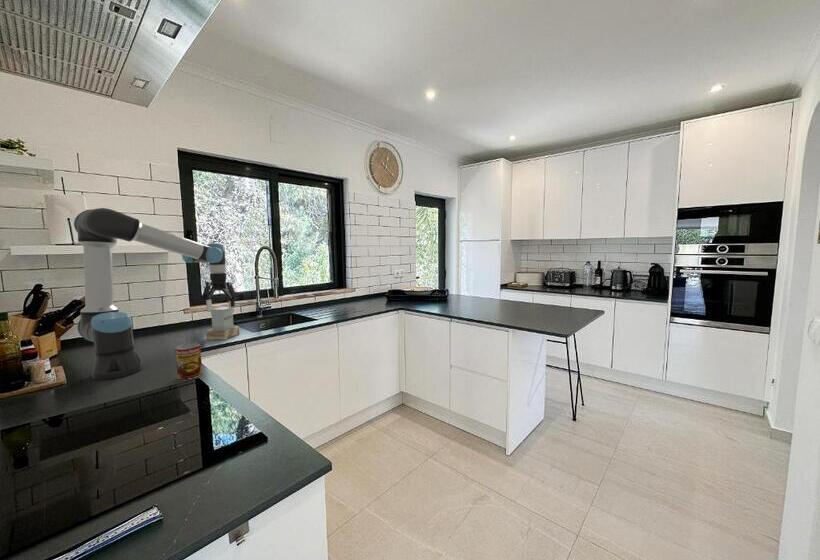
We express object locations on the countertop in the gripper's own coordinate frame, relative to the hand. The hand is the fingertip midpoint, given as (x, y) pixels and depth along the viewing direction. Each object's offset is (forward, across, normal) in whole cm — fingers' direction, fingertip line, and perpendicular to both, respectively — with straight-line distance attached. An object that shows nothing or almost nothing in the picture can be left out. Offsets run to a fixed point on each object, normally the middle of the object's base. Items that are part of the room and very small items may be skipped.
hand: (220, 312), depth 182 cm
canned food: (+14, -28, +49) cm, 58 cm away
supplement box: (+10, -1, -1) cm, 11 cm away
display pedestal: (+13, 0, -1) cm, 13 cm away
